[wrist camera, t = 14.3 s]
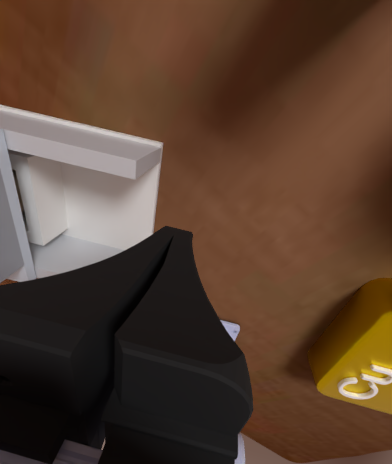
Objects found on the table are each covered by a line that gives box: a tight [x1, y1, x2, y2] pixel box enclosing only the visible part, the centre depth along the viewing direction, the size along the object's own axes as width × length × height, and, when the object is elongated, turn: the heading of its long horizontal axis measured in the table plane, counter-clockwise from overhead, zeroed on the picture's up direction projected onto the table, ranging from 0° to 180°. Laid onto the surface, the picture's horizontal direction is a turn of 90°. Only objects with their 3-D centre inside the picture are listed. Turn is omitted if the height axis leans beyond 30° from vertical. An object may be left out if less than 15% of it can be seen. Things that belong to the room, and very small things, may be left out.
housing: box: [0, 105, 163, 278], centre depth 20 cm, size 13×18×6 cm
